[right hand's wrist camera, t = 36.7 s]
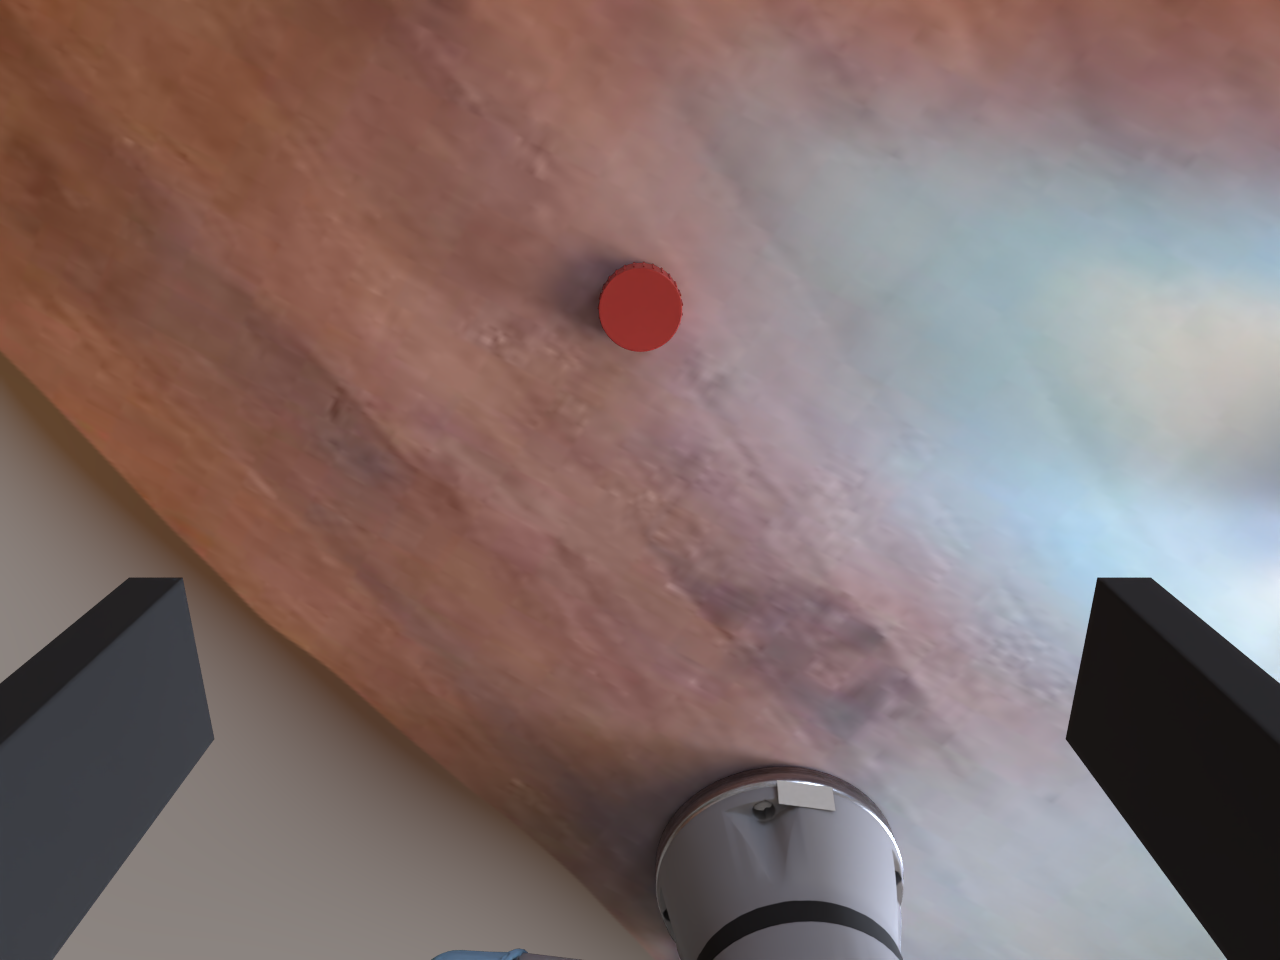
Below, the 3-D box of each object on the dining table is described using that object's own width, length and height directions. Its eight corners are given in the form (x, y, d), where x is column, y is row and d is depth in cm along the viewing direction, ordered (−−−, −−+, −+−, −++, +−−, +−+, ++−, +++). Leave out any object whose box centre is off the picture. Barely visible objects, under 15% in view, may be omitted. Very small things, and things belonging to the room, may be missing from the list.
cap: (591, 332, 45) (588, 341, 43) (610, 252, 43) (608, 256, 41) (669, 352, 45) (670, 361, 43) (690, 273, 44) (693, 279, 42)
